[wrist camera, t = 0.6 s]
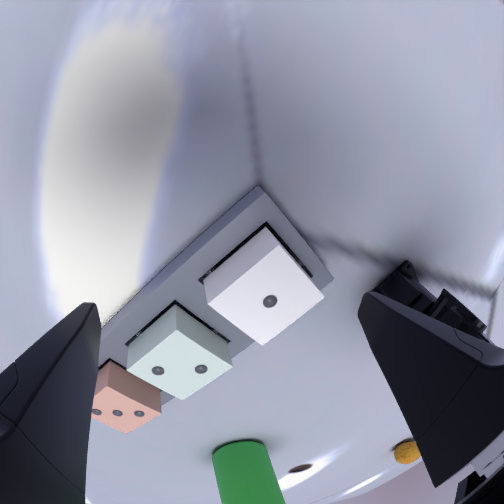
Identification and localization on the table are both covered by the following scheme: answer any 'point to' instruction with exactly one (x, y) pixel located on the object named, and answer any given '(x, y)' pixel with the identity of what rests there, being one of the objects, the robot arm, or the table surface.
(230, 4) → the table surface
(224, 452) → the bottle
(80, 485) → the robot arm
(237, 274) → the tile
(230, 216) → the board
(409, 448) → the potato
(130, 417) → the tile
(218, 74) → the table surface
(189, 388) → the tile
